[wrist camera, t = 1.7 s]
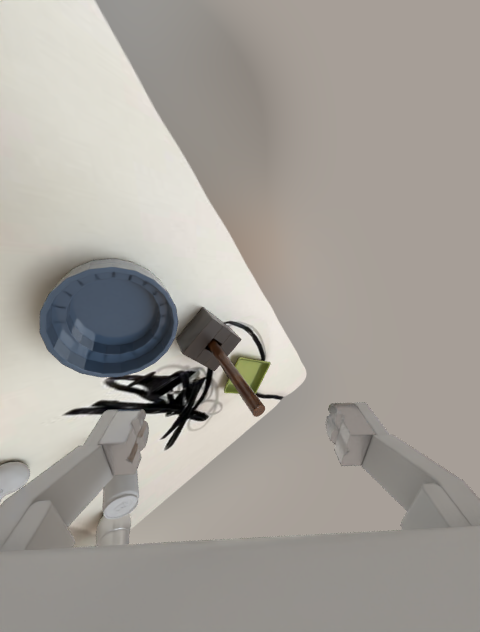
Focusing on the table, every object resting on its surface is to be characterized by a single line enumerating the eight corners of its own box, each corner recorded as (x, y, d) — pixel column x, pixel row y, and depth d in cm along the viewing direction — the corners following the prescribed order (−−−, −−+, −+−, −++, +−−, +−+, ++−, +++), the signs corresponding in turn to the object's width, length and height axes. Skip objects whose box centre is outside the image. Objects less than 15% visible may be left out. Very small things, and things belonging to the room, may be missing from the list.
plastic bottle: (94, 529, 49) (82, 689, 33) (99, 507, 47) (89, 664, 31) (127, 519, 52) (131, 660, 36) (133, 499, 50) (140, 636, 34)
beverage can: (139, 438, 45) (145, 502, 35) (115, 453, 44) (114, 524, 34) (125, 425, 42) (128, 490, 32) (100, 441, 41) (94, 513, 31)
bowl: (21, 288, 28) (0, 305, 23) (139, 240, 31) (143, 246, 27) (98, 370, 36) (95, 396, 31) (185, 325, 40) (194, 341, 35)
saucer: (235, 351, 47) (240, 357, 45) (266, 357, 52) (271, 362, 50) (219, 386, 49) (223, 392, 47) (250, 389, 54) (255, 394, 52)
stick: (198, 331, 41) (251, 411, 25) (206, 327, 42) (263, 403, 25) (202, 338, 42) (255, 419, 26) (209, 334, 43) (266, 411, 26)
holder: (175, 338, 40) (182, 353, 36) (203, 306, 40) (212, 318, 36) (205, 356, 44) (214, 371, 40) (230, 327, 44) (241, 339, 40)
